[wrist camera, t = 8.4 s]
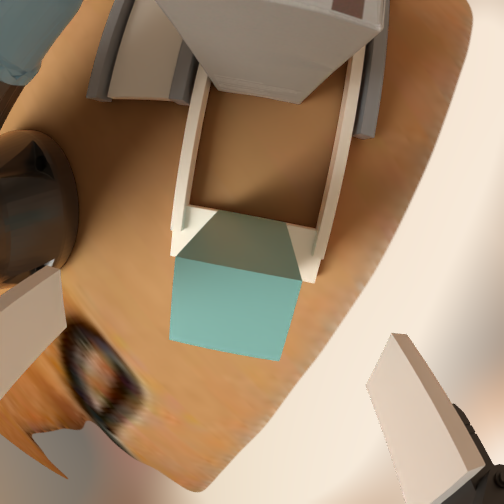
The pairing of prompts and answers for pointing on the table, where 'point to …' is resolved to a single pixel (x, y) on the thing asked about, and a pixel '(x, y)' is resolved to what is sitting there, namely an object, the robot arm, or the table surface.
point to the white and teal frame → (247, 249)
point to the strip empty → (146, 55)
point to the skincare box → (274, 41)
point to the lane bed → (189, 65)
